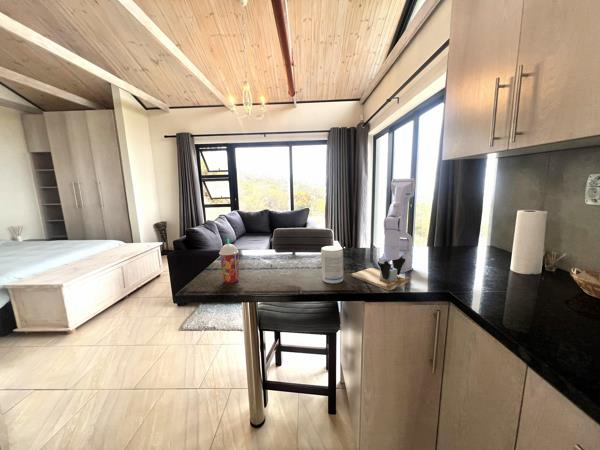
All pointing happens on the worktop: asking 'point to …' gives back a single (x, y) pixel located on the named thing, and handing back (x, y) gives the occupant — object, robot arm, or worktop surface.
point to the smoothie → (229, 262)
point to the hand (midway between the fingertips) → (391, 276)
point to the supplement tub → (332, 264)
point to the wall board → (379, 279)
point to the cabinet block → (391, 275)
